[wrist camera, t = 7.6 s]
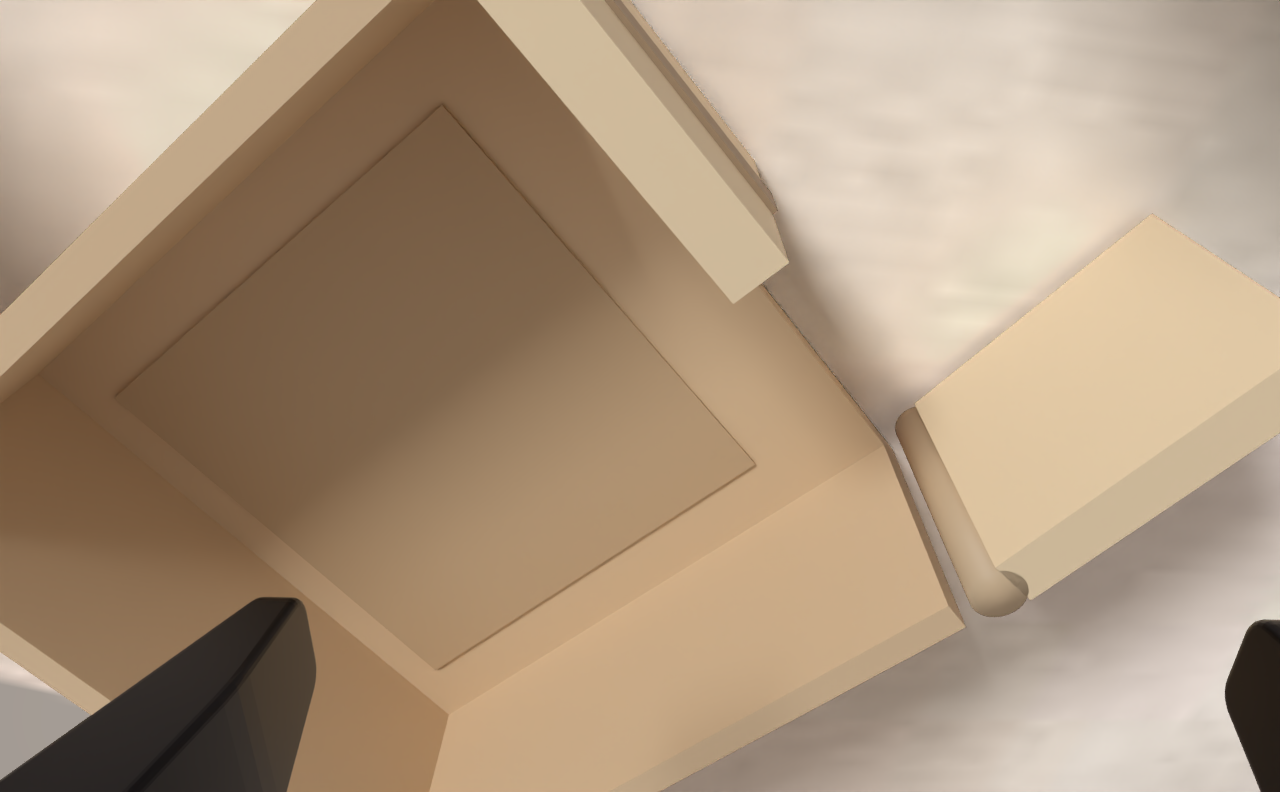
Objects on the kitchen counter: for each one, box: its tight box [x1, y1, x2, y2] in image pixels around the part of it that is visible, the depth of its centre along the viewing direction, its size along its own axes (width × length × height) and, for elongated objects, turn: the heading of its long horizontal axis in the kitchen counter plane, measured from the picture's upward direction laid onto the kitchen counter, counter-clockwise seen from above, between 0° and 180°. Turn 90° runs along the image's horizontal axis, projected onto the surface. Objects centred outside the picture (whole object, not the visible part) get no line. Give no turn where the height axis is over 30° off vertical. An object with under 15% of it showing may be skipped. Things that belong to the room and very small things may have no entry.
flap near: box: [478, 0, 789, 304], centre depth 15 cm, size 1×7×6 cm, turn 39°
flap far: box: [895, 214, 1280, 617], centre depth 18 cm, size 1×7×6 cm, turn 136°
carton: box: [0, 0, 966, 792], centre depth 19 cm, size 14×14×6 cm
